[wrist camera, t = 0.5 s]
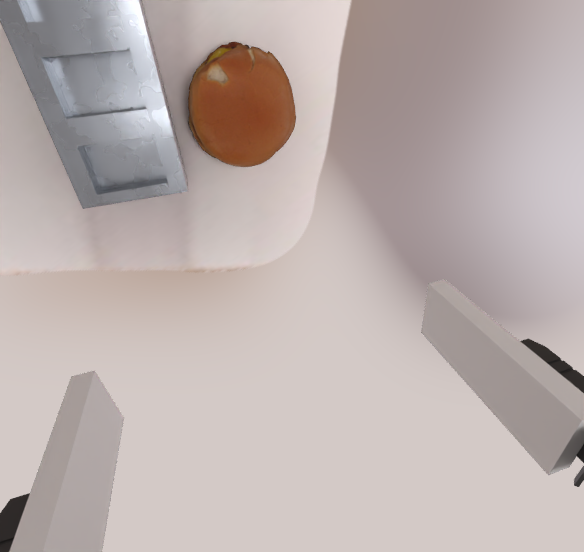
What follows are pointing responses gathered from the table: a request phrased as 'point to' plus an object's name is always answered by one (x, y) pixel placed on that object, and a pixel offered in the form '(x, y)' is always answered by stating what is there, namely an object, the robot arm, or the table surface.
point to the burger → (241, 105)
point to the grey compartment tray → (98, 95)
